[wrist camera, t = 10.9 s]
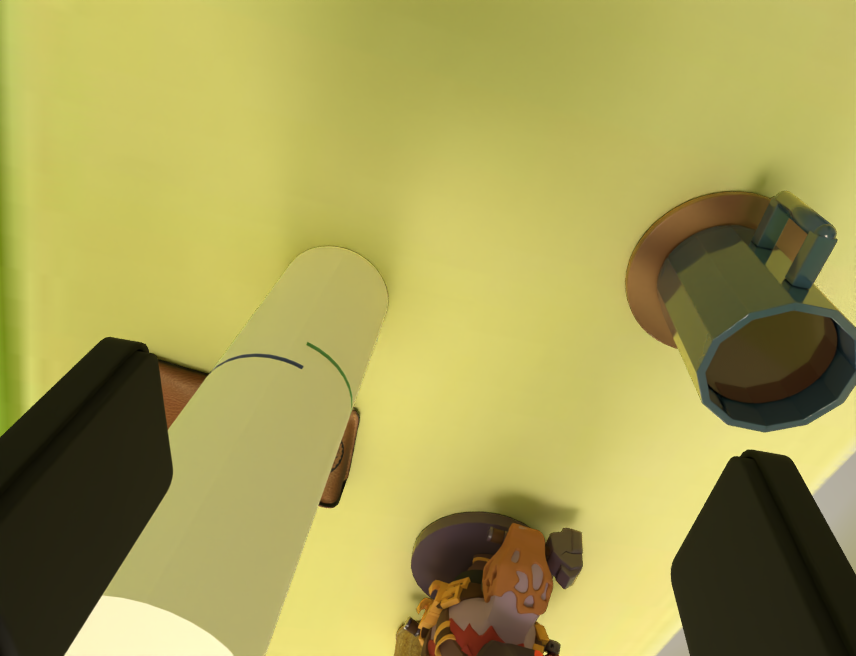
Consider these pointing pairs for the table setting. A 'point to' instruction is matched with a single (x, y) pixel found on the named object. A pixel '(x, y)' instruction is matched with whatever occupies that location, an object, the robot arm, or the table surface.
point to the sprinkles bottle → (407, 644)
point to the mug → (759, 320)
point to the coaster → (680, 227)
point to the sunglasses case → (186, 382)
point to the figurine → (489, 585)
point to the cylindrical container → (247, 471)
